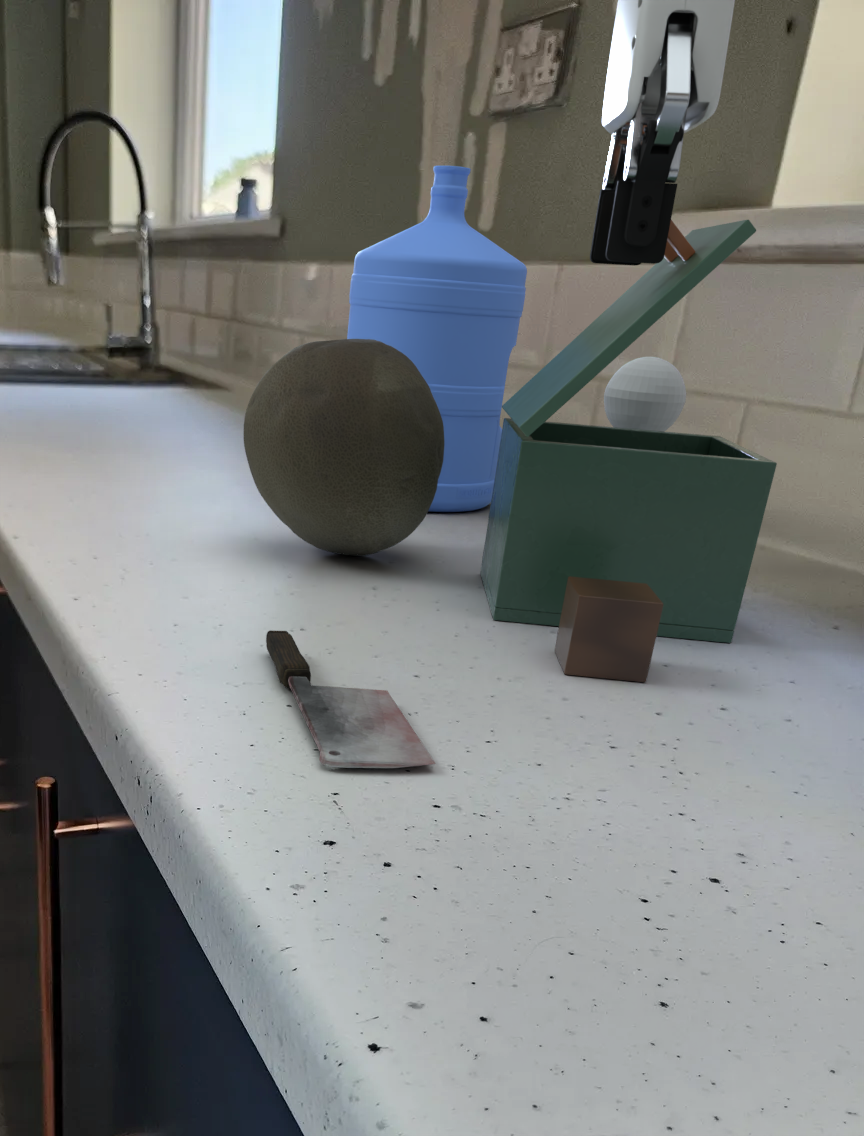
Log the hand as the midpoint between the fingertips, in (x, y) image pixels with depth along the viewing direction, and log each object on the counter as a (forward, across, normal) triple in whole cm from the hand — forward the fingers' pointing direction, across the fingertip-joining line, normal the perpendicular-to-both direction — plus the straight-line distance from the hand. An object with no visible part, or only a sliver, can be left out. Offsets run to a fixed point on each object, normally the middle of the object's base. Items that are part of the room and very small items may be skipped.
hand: (624, 259), depth 67 cm
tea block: (+21, -14, 0) cm, 25 cm away
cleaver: (+21, -25, +14) cm, 35 cm away
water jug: (+21, +36, +10) cm, 43 cm away
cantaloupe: (+21, +8, +16) cm, 27 cm away
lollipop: (+21, +17, -6) cm, 28 cm away
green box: (+21, 0, -2) cm, 21 cm away
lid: (+4, 0, 0) cm, 4 cm away
